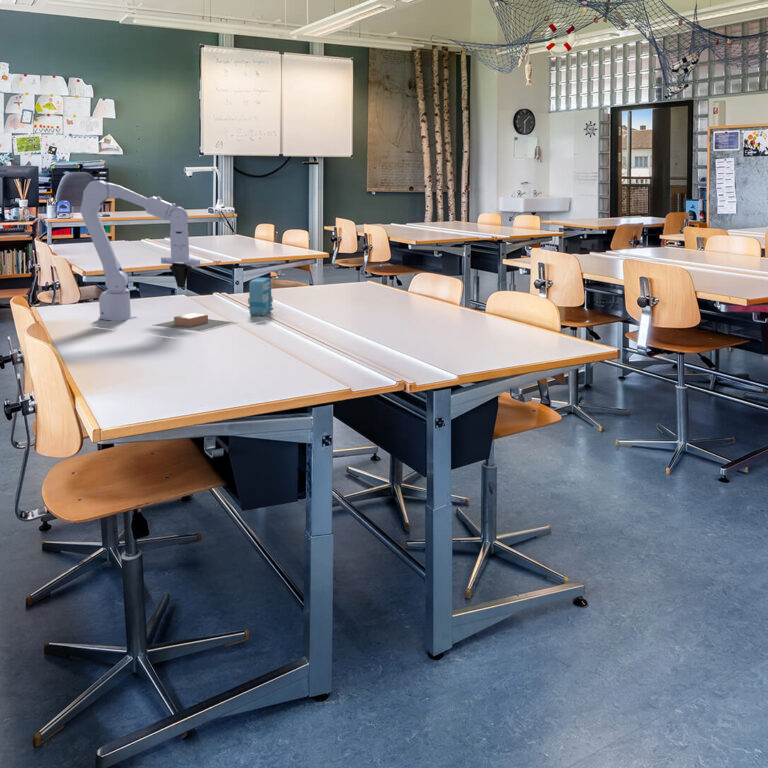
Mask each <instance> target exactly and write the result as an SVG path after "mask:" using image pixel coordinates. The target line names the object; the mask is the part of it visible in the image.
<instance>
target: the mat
mask: <svg viewBox="0 0 768 768" xmlns="http://www.w3.org/2000/svg"><path fill="white" fill-rule="evenodd" d="M235 324H239V322H237V321H236V322H234V321H227V320H219V319H210V318H208V322H207V323H202V324H198V325H194V326H182V325H175V324H174V319H173V320H168V321H164V322H163V321H162V322H158V323H155V324H152V326H156V327H163V328H171V329H172V328H173V329H179V330H187V331H195V332H203V333H204V332H207V331H211V330H215V329H219V328H223V327H227V326H231V325H235Z"/></svg>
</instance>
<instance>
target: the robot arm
mask: <svg viewBox="0 0 768 768" xmlns="http://www.w3.org/2000/svg"><path fill="white" fill-rule="evenodd" d="M82 193H83V194H82V199H81V204H80V205H81V207H80V214H81V217H82V219H83V221H84V224H85V226H86V229H87V231H88V233H89V235H90V236H89V237H90V238H91V241H92V243H93V246H94V248H95V250H96V253H97V256H98V258H99V260H100V263H101V265H102V270H103V273H104V276H105V281H104V282H105V287H106V288H107V289H105V291H102V292H101V294H100V295H99V297H98V298H99V299H98V303H99V305H98V306H99V316H98V317H97V318H98V320H105V321H114V322H115V321H116V322H122V321H127V320H132V319H136V318H137V316H134V315H132V313H131V294H130V289H128V287H127V286H128V284H129V282H130V279H129V278H130V277H129V274H128V273H127V272H126V271H125V270H124V269H123V268H122V266H121V264H120V261H119V260H118V259H117V256H116V254H115V251H114V248H113V246H112V244H111V241H110V239H109V236H108V234H107V231H106V230H105V227H104V224H103V222H102V219H101V217H100V215H99V212H100V209H101V208H102V206H103V203H105V202H106V201H107V200H108V199H110V200H111V199H112V200H113V199H121V200H124V201H126V202H129V203H132V204H134V205H137V206H139V207H143V208H144V209H145V212H146V214H148V215H151V216H153V217H155V218H158V219H161V220H163V221H165V222H167V221H169V222H170V230H169V239H170V240H169V241H170V257H160V264H162V265H163V264H164V265H165V264H166V265H170V266H169V269H170V271H171V273H172V275H173V276H174V279H175V283H176V286H177V288H180V289H181V288H185V287H186V282H187V278H188V276H189V273H190V271H191V269H192V267H197V268H198V267H201V260H200V259H194V258H193V259H192V258H190V248H189V247H190V245H189V244H190V243H189V241H190V240H189V230H188V228H189V226H188V220H189V214H188V212H187V210H186V209H184V208H183V207H182V206H179V205H178V206H177V203H174V202H173V203H170V202H168V201H165V200H163V199H162V197H161V196H150V197H147V196H144V195H141V194H139V193H136V192H135V191H132V190H131V189H128V188H125V187H123V186H122V185H119V184H116V183H112V182H107V181H105V180H102V179H100V180H98V179H97V180H92V181H90V182H88V184H87V185H86V187H85V188H84V190H83V192H82Z"/></svg>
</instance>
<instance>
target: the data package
mask: <svg viewBox="0 0 768 768" xmlns="http://www.w3.org/2000/svg"><path fill="white" fill-rule="evenodd" d="M248 283H249V284H248V285H249V286H248V287H249V288H248V289H249V291H248V292H249V293H248V295H249V297H248V298H249V300H250V305H249V316H251V317H265V316H266V315H268V314H270V313H271V312H272V306H271V296H272V279H271V278H270V277H256V278H254V279H252V280H250V281H249V282H248ZM264 315H265V316H264Z"/></svg>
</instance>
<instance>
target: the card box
mask: <svg viewBox="0 0 768 768" xmlns="http://www.w3.org/2000/svg"><path fill="white" fill-rule="evenodd" d="M208 319H209V315H208V314H206V313H204V314H203V313H195V312H191V313H185V314H181V315H177V316H173V320H174V324H175V325H182V326H194V325H198V324H202V323H207V322H208Z"/></svg>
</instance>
